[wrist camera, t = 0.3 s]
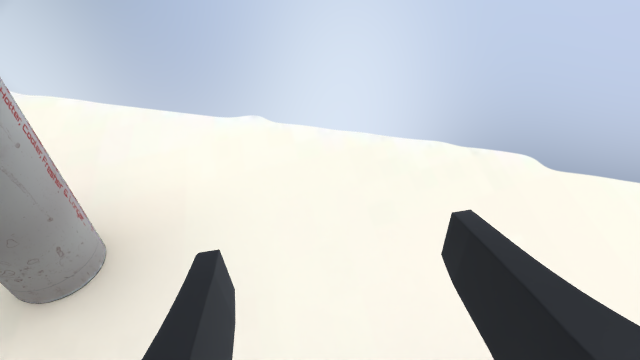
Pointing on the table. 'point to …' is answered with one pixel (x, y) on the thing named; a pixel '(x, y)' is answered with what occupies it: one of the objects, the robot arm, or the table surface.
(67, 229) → the thermos bottle
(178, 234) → the table surface
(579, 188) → the table surface
